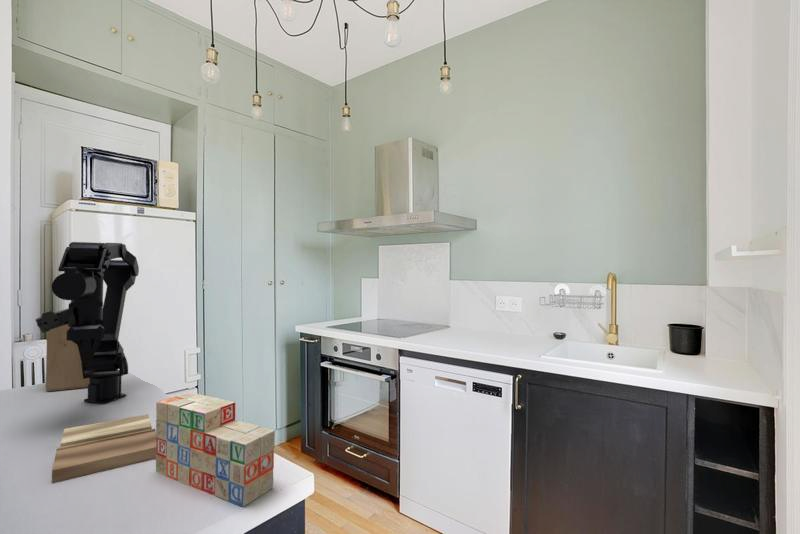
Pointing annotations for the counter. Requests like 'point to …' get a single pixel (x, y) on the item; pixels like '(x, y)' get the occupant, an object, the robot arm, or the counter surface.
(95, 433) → the oak plank
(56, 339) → the wooden block
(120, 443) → the wooden molding strip
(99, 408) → the counter surface
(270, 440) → the stack of blocks
